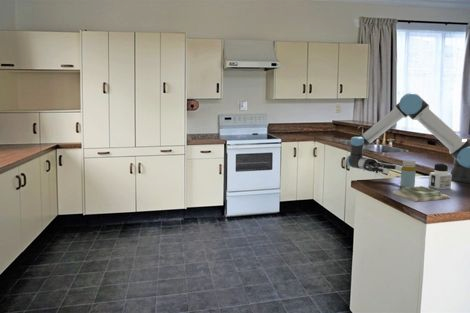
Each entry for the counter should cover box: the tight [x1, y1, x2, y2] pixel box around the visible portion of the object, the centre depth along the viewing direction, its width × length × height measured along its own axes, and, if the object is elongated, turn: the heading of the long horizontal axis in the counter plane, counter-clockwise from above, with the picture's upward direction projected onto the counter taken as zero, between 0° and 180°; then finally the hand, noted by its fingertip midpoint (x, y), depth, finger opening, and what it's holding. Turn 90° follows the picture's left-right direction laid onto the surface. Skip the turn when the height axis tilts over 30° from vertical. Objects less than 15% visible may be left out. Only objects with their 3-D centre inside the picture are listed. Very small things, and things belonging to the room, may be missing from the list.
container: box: [428, 162, 452, 190], centre depth 205 cm, size 8×8×13 cm
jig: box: [392, 185, 451, 203], centre depth 187 cm, size 20×16×3 cm
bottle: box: [399, 159, 417, 189], centre depth 203 cm, size 7×7×15 cm
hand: (397, 170), depth 209 cm, fingers open, 13 cm apart
